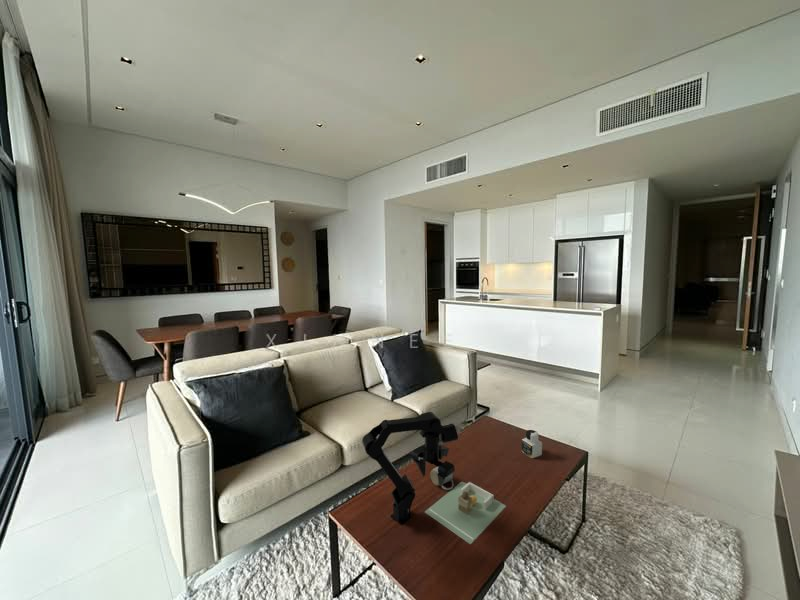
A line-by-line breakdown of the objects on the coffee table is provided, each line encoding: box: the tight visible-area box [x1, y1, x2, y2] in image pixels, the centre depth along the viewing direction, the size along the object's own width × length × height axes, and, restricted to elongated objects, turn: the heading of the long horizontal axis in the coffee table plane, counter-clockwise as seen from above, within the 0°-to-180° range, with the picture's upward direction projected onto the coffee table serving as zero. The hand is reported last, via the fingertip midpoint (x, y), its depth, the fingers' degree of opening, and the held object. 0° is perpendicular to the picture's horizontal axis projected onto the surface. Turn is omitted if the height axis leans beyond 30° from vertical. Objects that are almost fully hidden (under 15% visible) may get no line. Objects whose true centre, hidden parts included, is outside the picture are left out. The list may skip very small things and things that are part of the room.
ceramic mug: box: [429, 466, 454, 491], centre depth 149 cm, size 11×8×8 cm
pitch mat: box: [424, 481, 507, 545], centre depth 134 cm, size 26×22×1 cm
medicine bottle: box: [521, 429, 543, 459], centre depth 171 cm, size 7×7×12 cm
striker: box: [458, 492, 472, 515], centre depth 133 cm, size 4×4×8 cm
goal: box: [461, 481, 495, 510], centre depth 140 cm, size 6×12×3 cm, turn 44°
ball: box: [471, 495, 477, 505], centre depth 136 cm, size 4×4×4 cm
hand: (432, 480), depth 134 cm, fingers open, 9 cm apart
